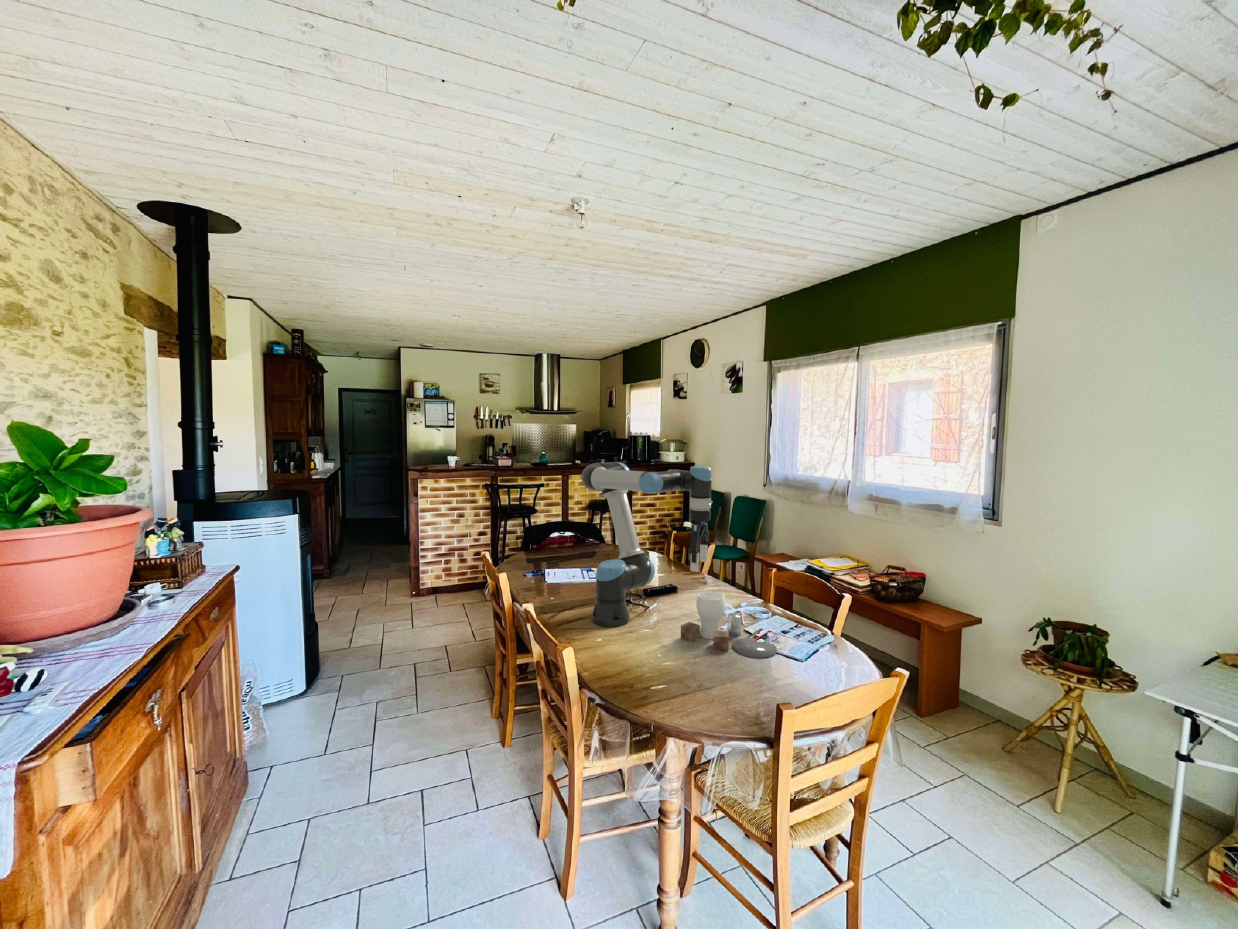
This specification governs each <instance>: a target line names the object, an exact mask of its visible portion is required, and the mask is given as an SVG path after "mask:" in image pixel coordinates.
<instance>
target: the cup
mask: <svg viewBox="0 0 1238 929" xmlns="http://www.w3.org/2000/svg"><path fill="white" fill-rule="evenodd" d="M696 610H697V614H698V616H699V618H700V624H701V625H700V637H702V638H704V639H709V640H714V631H721V627H720V626H721V625H720V624H721V620H722V618H723V616H724V613H725V612H726V611H725V610H726V599H725V596H724V595H723V594H722V593H720V592H716V591H701V592H700V593H698V595H697V598H696Z"/></svg>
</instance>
